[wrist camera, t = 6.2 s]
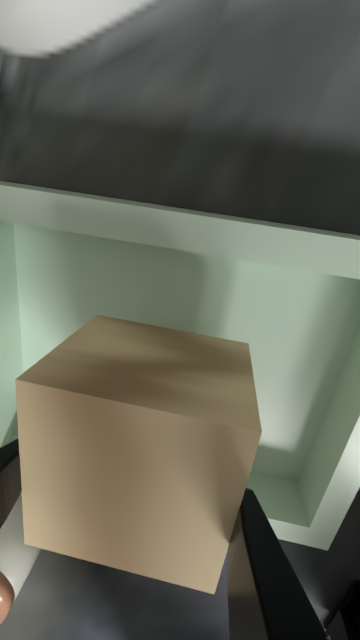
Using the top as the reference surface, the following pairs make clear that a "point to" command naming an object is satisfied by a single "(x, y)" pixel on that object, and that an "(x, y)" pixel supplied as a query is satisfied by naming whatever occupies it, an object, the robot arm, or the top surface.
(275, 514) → the green tote
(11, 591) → the cream tub
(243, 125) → the top surface
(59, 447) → the oak block
